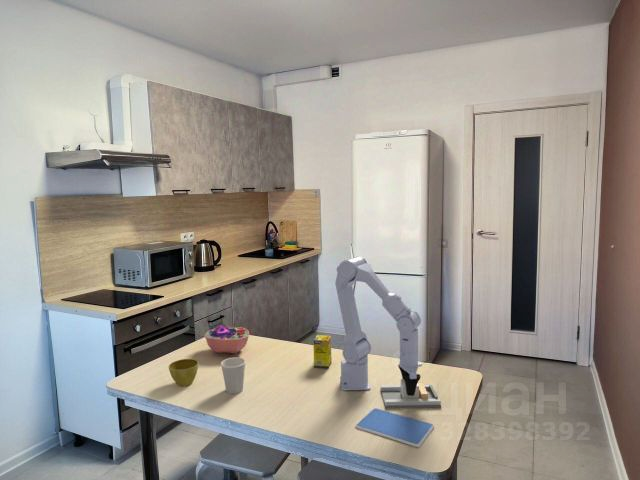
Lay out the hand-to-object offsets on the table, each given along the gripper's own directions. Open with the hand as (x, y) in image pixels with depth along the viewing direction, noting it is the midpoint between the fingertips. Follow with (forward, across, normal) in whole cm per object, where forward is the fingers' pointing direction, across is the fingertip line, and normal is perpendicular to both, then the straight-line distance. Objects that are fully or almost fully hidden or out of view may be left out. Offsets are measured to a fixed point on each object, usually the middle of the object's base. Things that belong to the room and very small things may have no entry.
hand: (409, 391), depth 143 cm
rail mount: (+2, 0, 0) cm, 2 cm away
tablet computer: (+3, -17, +7) cm, 19 cm away
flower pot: (+3, +14, +77) cm, 78 cm away
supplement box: (+3, +28, +28) cm, 40 cm away
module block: (+2, 0, 0) cm, 2 cm away
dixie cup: (+3, +8, +58) cm, 58 cm away
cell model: (+3, +44, +68) cm, 81 cm away
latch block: (+2, 0, -4) cm, 5 cm away
